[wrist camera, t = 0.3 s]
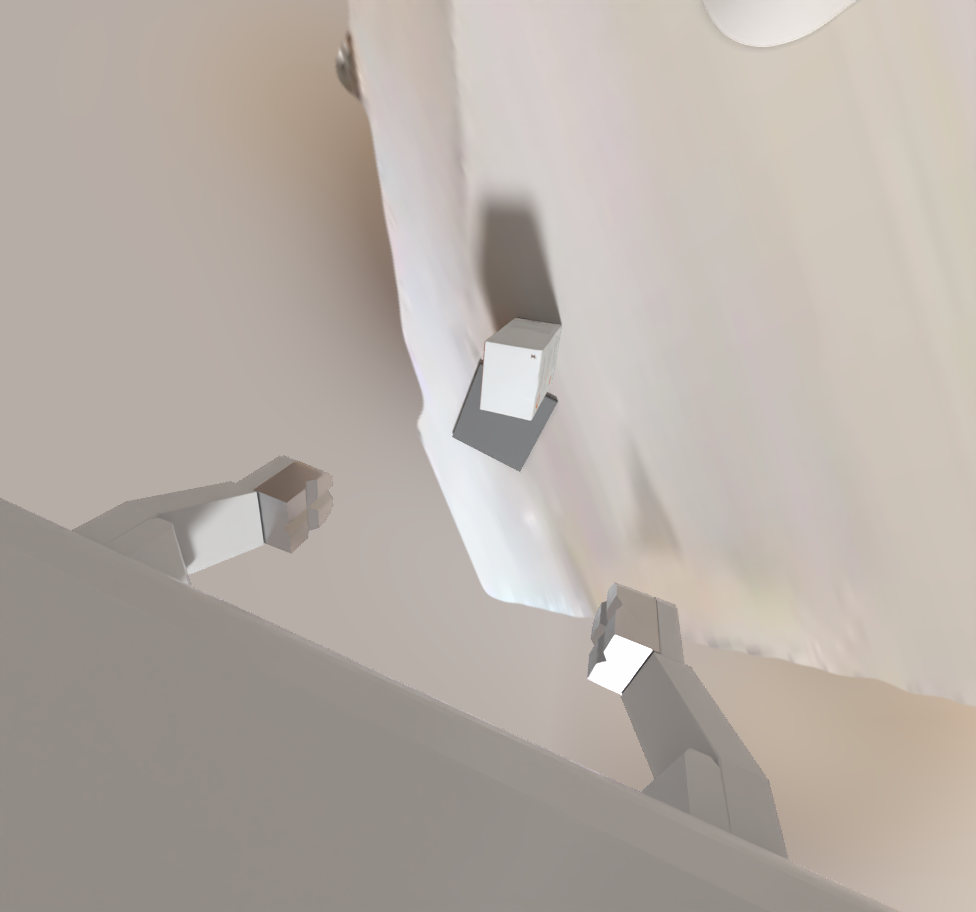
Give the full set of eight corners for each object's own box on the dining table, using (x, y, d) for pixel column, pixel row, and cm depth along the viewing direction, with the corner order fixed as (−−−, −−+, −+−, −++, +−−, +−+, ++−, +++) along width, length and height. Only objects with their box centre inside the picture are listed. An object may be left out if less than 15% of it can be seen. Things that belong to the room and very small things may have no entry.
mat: (481, 363, 56) (480, 364, 56) (557, 401, 56) (557, 402, 55) (453, 435, 64) (452, 436, 63) (520, 469, 63) (519, 471, 62)
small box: (514, 316, 52) (483, 339, 41) (562, 324, 51) (544, 349, 40) (507, 376, 56) (478, 410, 45) (552, 384, 55) (532, 422, 44)
